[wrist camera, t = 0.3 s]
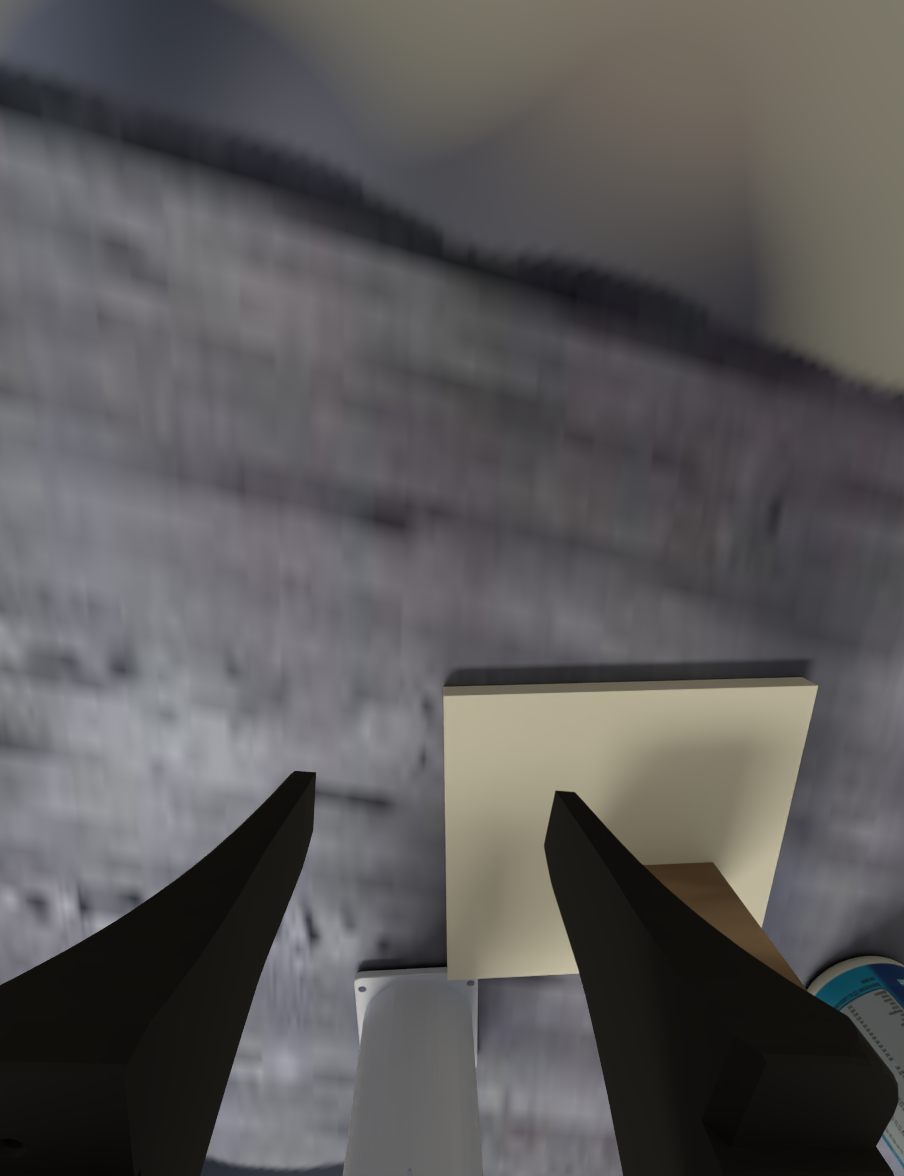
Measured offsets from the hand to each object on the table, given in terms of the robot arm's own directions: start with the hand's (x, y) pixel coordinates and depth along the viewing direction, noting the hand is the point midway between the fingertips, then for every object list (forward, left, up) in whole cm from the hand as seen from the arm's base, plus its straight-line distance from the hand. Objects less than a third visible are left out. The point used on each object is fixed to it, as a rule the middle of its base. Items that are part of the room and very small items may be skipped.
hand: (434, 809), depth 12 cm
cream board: (-11, -11, -10) cm, 18 cm away
